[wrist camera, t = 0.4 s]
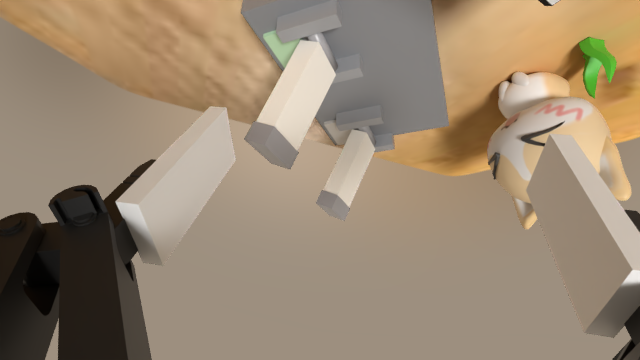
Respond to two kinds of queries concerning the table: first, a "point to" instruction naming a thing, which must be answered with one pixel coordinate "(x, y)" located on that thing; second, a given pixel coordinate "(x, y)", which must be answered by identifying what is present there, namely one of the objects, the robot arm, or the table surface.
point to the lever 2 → (347, 173)
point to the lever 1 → (294, 102)
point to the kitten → (553, 128)
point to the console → (364, 61)
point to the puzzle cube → (549, 2)
